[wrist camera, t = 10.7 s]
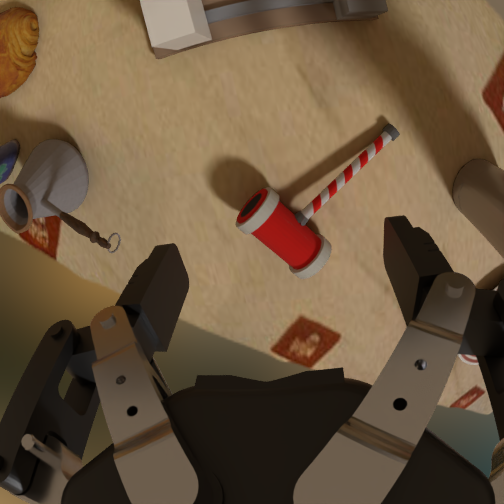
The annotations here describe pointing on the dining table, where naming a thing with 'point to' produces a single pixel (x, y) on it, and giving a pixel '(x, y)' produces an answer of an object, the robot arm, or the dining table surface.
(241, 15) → the base
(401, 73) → the dining table surface
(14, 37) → the croissant
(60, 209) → the coffee pot
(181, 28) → the gauge slider
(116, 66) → the dining table surface
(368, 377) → the dining table surface
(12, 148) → the flask
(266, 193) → the toy hammer
